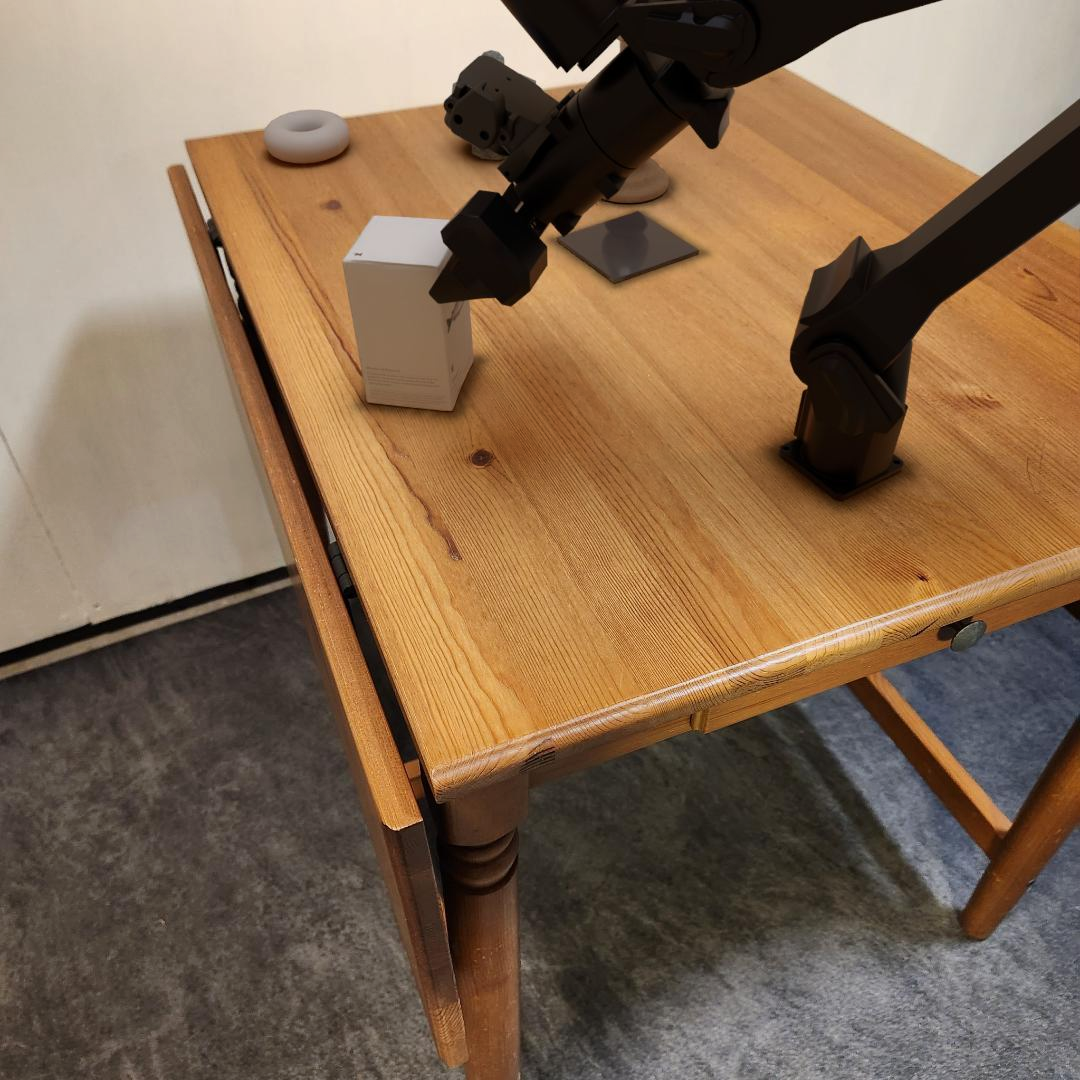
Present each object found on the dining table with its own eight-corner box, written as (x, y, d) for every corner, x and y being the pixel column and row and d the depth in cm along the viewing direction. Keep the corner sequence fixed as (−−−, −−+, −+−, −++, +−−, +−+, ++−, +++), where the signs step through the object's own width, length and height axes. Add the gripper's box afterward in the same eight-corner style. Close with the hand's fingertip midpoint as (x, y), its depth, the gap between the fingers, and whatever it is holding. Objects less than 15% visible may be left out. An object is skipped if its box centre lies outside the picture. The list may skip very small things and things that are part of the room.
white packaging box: (454, 413, 74) (438, 267, 65) (364, 404, 75) (337, 259, 66) (477, 361, 79) (465, 218, 70) (393, 352, 80) (371, 211, 71)
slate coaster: (698, 253, 91) (699, 249, 91) (614, 283, 88) (614, 279, 87) (637, 214, 97) (638, 210, 97) (556, 241, 94) (556, 237, 93)
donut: (291, 131, 115) (250, 163, 108) (285, 102, 113) (243, 132, 106) (366, 139, 113) (329, 172, 106) (362, 109, 111) (324, 141, 104)
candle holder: (601, 209, 98) (607, -8, 84) (576, 175, 104) (578, -34, 90) (680, 197, 100) (699, -18, 85) (651, 164, 106) (664, -43, 91)
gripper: (569, -25, 61) (431, 128, 72) (460, 73, 49) (312, 241, 60) (677, 112, 65) (531, 238, 76) (601, 236, 53) (438, 367, 63)
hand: (459, 265), depth 68 cm, fingers open, 9 cm apart
